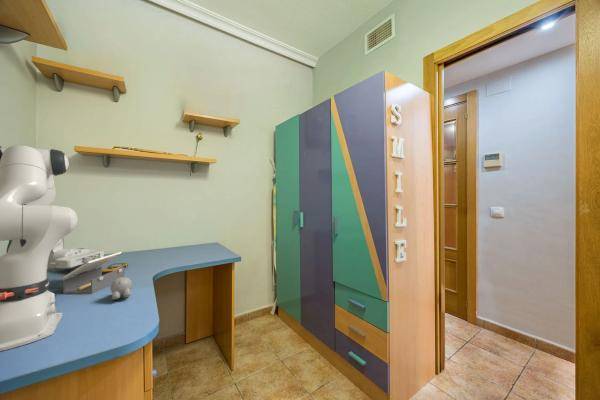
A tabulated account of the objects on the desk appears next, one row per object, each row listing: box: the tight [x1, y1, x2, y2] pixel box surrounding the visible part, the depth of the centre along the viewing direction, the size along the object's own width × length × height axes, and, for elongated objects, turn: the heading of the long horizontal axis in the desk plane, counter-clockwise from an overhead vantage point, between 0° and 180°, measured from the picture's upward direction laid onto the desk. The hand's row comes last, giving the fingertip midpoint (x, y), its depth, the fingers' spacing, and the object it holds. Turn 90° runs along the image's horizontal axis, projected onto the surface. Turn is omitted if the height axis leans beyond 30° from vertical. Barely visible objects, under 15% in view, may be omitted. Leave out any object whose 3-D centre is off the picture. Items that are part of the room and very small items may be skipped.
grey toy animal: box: [109, 276, 133, 301], centre depth 98 cm, size 7×12×8 cm, turn 36°
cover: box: [61, 251, 122, 280], centre depth 111 cm, size 20×13×1 cm
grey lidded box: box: [62, 266, 126, 295], centre depth 111 cm, size 20×13×6 cm, turn 3°
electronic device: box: [102, 262, 129, 275], centre depth 133 cm, size 8×16×3 cm, turn 14°
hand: (99, 258), depth 111 cm, fingers closed, pressing on cover
